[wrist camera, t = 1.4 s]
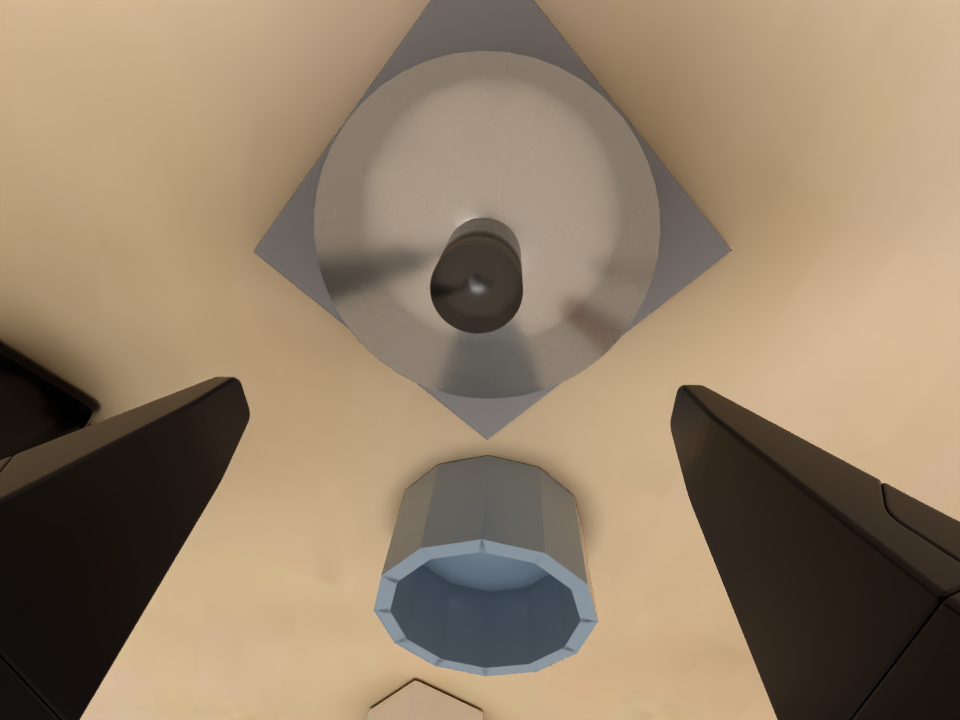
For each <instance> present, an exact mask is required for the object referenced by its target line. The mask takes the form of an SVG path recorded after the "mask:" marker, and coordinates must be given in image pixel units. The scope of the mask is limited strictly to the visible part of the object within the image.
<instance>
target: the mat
mask: <svg viewBox="0 0 960 720" xmlns="http://www.w3.org/2000/svg"><path fill="white" fill-rule="evenodd" d="M472 51H498V52H510V53H515V54H519V55H524V56H529V57H534V58H536V59H539V60H542V61H544V62H547V63H550V64H552V65H555V66H558V67H560V68H562V69H563V70H565V71H567V72H569V73H570V74H572V75H574V76H576V77H578V78H579V79H581V80H583V81H584V82H585V83H587V84H588V85H589V86H590V87H592V88H593V89H594V90H595V91H597V92H598V93H599V94H600V95H602V96H603V97H604V98H605V99H606V100H607V101H608V102H609V103H610V104H611V105H612V106H613V108H614V109H615V110H616V111H617V112H618V113H619V114H620V115H621V116H622V117H623V119H624V120H625V122H626V123H627V125H628V126H629V128H630V129H631V131H632V132H633V134H634V135H635V136H636V138H637V140H638V142H639V144H640V146H641V148H642V150H643V152H644V154H645V156H646V158H647V160H648V163H649V166H650V169H651V173H652V176H653V179H654V182H655V185H656V191H657V197H658V203H659V208H660V241H659V251H658V258H657V262H656V266H655V270H654V275H653V278H652V281H651V284H650V286H649V289H648V292H647V294H646V297H645V299H644V301H643V303H642V305H641V307H640V309H639V310H638V312H637V314H636V316H635V318H634V319H633V321H632V322H631V324H630V325H629V326H628V328H627V329H626V331H625V332H624V333H623V334H625V333H626V332H627V331H628V330H630V329H631V328H632V327H634V326H635V325H636V324H637V323H639V322H640V321H641V320H643V319H644V318H645V317H646V316H648V315H649V314H650V313H652V312H653V311H654V310H656V309H657V308H658V307H659V306H661V305H662V304H663V303H665V302H666V301H667V300H668V299H670V298H671V297H672V296H674V295H675V294H676V293H677V292H679V291H680V290H681V289H683V288H684V287H685V286H686V285H688V284H689V283H690V282H692V281H693V280H694V279H696V278H697V277H698V276H699V275H701V274H702V273H703V272H705V271H706V270H707V269H708V268H710V267H711V266H712V265H714V264H715V263H716V262H717V261H719V260H720V259H721V258H723V257H724V256H725V255H726V254H728V253H729V252H730V251H732V250H731V249H730V247H729V246H728V245H727V244H726V242H725V241H724V240H723V239H722V237H721V236H720V235H719V233H718V232H717V231H716V230H715V228H714V227H713V226H712V225H711V223H710V222H709V221H708V220H707V218H706V217H705V216H704V215H703V213H702V212H701V211H700V210H699V208H698V207H697V206H696V204H695V203H694V202H693V201H692V199H691V198H690V197H689V196H688V194H687V193H686V192H685V191H684V189H683V188H682V187H681V186H680V184H679V183H678V182H677V181H676V179H675V178H674V177H673V175H672V174H671V173H670V172H669V170H668V169H667V168H666V167H665V165H664V164H663V163H662V162H661V160H660V159H659V158H658V157H657V155H656V154H655V153H654V152H653V150H652V149H651V148H650V146H649V145H648V144H647V143H646V141H645V140H644V139H643V138H642V136H641V135H640V134H639V133H638V131H637V130H636V129H635V128H634V126H633V125H632V124H631V123H630V121H629V120H628V119H627V117H626V116H625V115H624V114H623V112H622V111H621V110H620V109H619V107H618V106H617V105H616V104H615V102H614V101H613V100H612V99H611V97H610V96H609V95H608V94H607V92H606V91H605V90H604V88H603V87H602V86H601V85H600V83H599V82H598V81H597V80H596V78H595V77H594V76H593V75H592V73H591V72H590V71H589V70H588V68H587V67H586V66H585V65H584V63H583V62H582V61H581V59H580V58H579V57H578V56H577V54H576V53H575V52H574V51H573V49H572V48H571V47H570V46H569V44H568V43H567V42H566V41H565V39H564V38H563V37H562V36H561V34H560V33H559V32H558V30H557V29H556V28H555V27H554V25H553V24H552V23H551V22H550V20H549V19H548V18H547V17H546V15H545V14H544V13H543V12H542V10H541V9H540V8H539V7H538V5H537V4H536V3H535V1H534V0H431V1H430V3H429V4H428V6H427V7H426V8H425V10H424V11H423V13H422V14H421V15H420V17H419V18H418V20H417V21H416V22H415V24H414V25H413V27H412V28H411V30H410V31H409V32H408V34H407V35H406V37H405V38H404V39H403V41H402V42H401V44H400V45H399V46H398V48H397V49H396V51H395V52H394V53H393V55H392V56H391V58H390V59H389V61H388V62H387V63H386V65H385V66H384V68H383V69H382V70H381V72H380V73H379V75H378V76H377V77H376V79H375V80H374V82H373V83H372V85H371V86H370V87H369V89H368V90H367V92H366V93H365V94H364V96H363V97H362V99H361V100H360V101H359V103H358V104H357V106H356V107H355V109H354V110H353V111H352V113H351V114H350V116H349V117H348V118H347V120H348V119H349V118H350V117H351V115H352V114H353V113H354V112H355V111H356V109H357V108H358V107H359V106H360V105H361V103H362V102H363V101H365V100H366V99H367V98H368V97H369V96H370V95H371V94H372V93H374V92H375V91H376V90H377V89H378V88H379V87H380V86H382V85H383V84H385V83H386V82H388V81H389V80H391V79H392V78H394V77H395V76H397V75H398V74H400V73H401V72H403V71H405V70H408V69H410V68H412V67H414V66H416V65H419V64H421V63H423V62H425V61H428V60H432V59H435V58H439V57H442V56H446V55H450V54H454V53H463V52H472ZM347 120H346V121H347ZM346 121H345V123H346ZM345 123H344V124H345ZM344 124H343V125H342V127H341V128H340V130H339V131H338V133H337V134H336V135H335V137H334V138H333V140H332V141H331V142H330V144H329V145H328V147H327V148H326V149H325V151H324V152H323V154H322V155H321V156H320V158H319V159H318V161H317V162H316V164H315V165H314V166H313V168H312V169H311V171H310V172H309V173H308V175H307V176H306V178H305V179H304V180H303V182H302V183H301V185H300V186H299V188H298V189H297V190H296V192H295V193H294V195H293V196H292V197H291V199H290V200H289V202H288V203H287V204H286V206H285V207H284V209H283V210H282V212H281V213H280V214H279V216H278V217H277V219H276V220H275V221H274V223H273V224H272V226H271V227H270V228H269V230H268V231H267V233H266V234H265V235H264V237H263V238H262V240H261V241H260V243H259V244H258V245H257V247H256V248H255V250H254V251H253V252H254V253H256V254H257V255H258V256H259V257H261V258H262V259H263V260H264V261H266V262H267V263H268V264H269V265H271V266H272V267H273V268H274V269H276V270H277V271H278V272H279V273H281V274H282V275H283V276H284V277H286V278H287V279H288V280H289V281H291V282H292V283H293V284H294V285H295V286H297V287H298V288H299V289H300V290H302V291H303V292H304V293H305V294H307V295H308V296H309V297H310V298H312V299H313V300H314V301H315V302H317V303H318V304H319V305H320V306H322V307H323V308H324V309H325V310H327V311H328V312H329V313H330V314H332V315H333V316H334V317H335V318H336V319H338V320H339V321H340V322H341V323H343V324H344V325H345V326H346V327H348V326H347V325H346V323H345V322H344V320H343V319H342V318H341V316H340V314H339V313H338V311H337V309H336V307H335V305H334V303H333V302H332V300H331V298H330V296H329V293H328V290H327V288H326V285H325V283H324V280H323V278H322V274H321V270H320V266H319V263H318V259H317V253H316V246H315V238H314V208H315V200H316V193H317V187H318V183H319V180H320V176H321V172H322V169H323V165H324V163H325V161H326V158H327V156H328V154H329V151H330V149H331V147H332V144H333V142H334V141H335V139H336V138H337V136H338V134H339V133H340V131H341V129H342V128H343V126H344ZM417 384H418V383H417ZM418 385H420V384H418ZM557 385H559V384H557ZM557 385H555V386H552V387H549V388H547V389H544V390H542V391H538V392H534V393H530V394H527V395H522V396H515V397H509V398H494V399H482V398H468V397H462V396H456V395H451V394H447V393H443V392H440V391H437V390H433V389H430V388H428V387H425V386H423V385H420V386H421V387H422V388H423V389H425V390H426V391H427V392H428V393H430V394H431V395H432V396H433V397H435V398H436V399H437V400H438V401H440V402H441V403H442V404H443V405H445V406H446V407H447V408H448V409H450V410H451V411H452V412H453V413H454V414H456V415H457V416H458V417H459V418H461V419H462V420H463V421H464V422H466V423H467V424H468V425H469V426H471V427H472V428H473V429H474V430H476V431H477V432H478V433H479V434H481V435H482V436H483V437H484V438H486V439H487V440H488V439H489V438H490V437H492V436H493V435H494V434H496V433H497V432H498V431H499V430H501V429H502V428H503V427H505V426H506V425H507V424H508V423H510V422H511V421H512V420H514V419H515V418H516V417H517V416H519V415H520V414H521V413H523V412H524V411H525V410H526V409H528V408H529V407H530V406H532V405H533V404H534V403H536V402H537V401H538V400H539V399H541V398H542V397H543V396H545V395H546V394H547V393H548V392H550V391H551V390H552V389H554V388H555V387H556V386H557Z"/></svg>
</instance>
